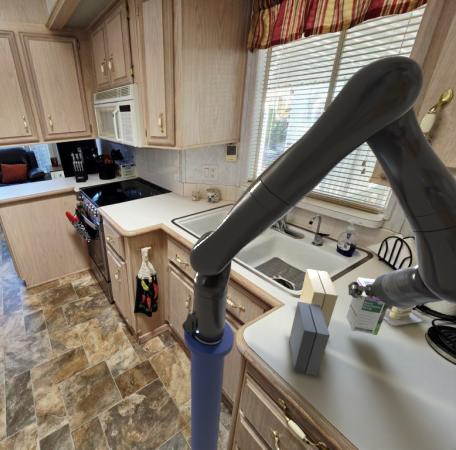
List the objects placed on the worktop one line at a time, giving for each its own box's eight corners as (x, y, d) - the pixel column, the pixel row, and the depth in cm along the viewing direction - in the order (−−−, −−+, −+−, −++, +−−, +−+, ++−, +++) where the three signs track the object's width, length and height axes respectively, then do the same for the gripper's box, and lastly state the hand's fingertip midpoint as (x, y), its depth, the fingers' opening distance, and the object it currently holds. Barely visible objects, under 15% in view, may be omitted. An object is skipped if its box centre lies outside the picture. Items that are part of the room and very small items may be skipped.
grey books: (293, 370, 63) (304, 330, 57) (289, 339, 71) (297, 301, 66) (316, 376, 61) (329, 335, 55) (309, 343, 70) (319, 305, 64)
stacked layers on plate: (393, 301, 82) (399, 287, 80) (423, 321, 74) (430, 307, 72) (366, 305, 81) (371, 291, 79) (393, 326, 73) (399, 311, 71)
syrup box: (351, 331, 69) (366, 289, 63) (345, 316, 74) (358, 275, 68) (377, 335, 67) (394, 293, 61) (368, 320, 72) (384, 279, 66)
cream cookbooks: (302, 335, 72) (313, 291, 66) (297, 309, 82) (306, 268, 75) (324, 340, 70) (338, 295, 64) (316, 312, 80) (327, 271, 73)
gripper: (445, 275, 52) (398, 286, 67) (362, 265, 57) (335, 278, 72) (451, 312, 50) (401, 315, 65) (364, 299, 55) (336, 304, 70)
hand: (367, 295), depth 68 cm, fingers closed on syrup box, 5 cm apart
